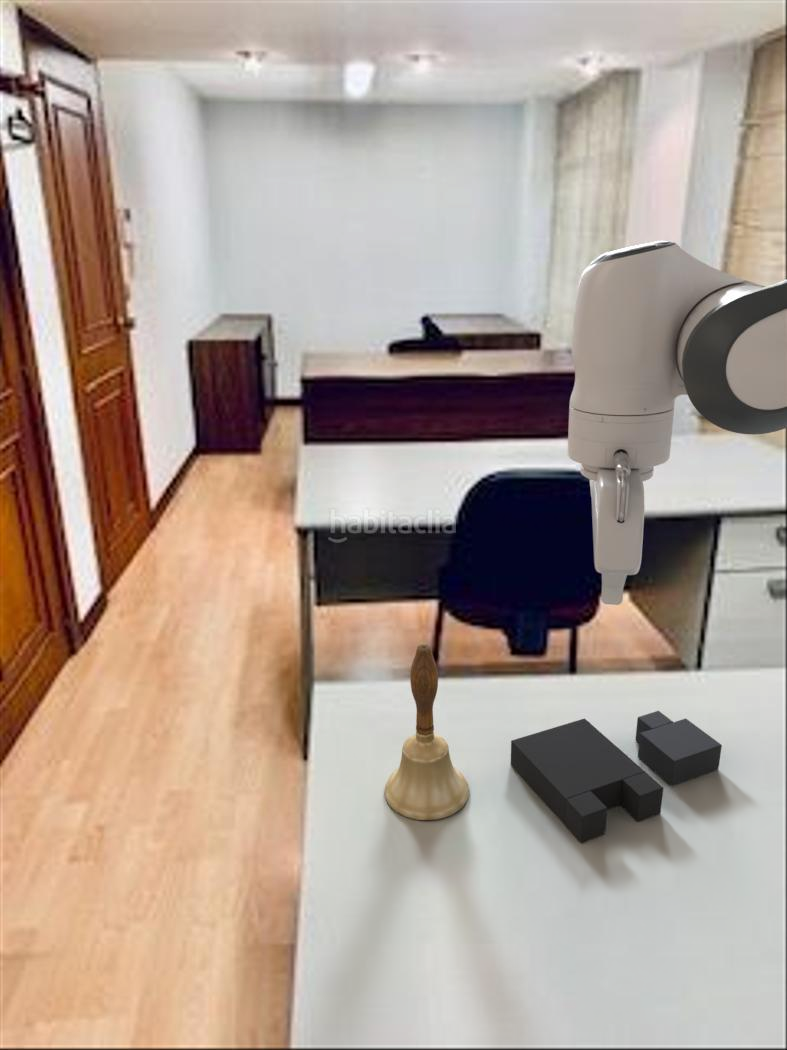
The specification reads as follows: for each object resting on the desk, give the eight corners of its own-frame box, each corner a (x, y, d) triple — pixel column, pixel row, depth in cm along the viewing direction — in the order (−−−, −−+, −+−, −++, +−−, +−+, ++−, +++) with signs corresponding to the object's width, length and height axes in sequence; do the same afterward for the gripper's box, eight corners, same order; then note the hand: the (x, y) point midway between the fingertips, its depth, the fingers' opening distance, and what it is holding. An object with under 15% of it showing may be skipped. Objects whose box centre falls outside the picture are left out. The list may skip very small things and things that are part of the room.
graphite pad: (667, 730, 83) (670, 706, 82) (718, 769, 76) (722, 744, 75) (622, 744, 81) (625, 720, 80) (671, 786, 74) (674, 761, 73)
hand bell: (370, 780, 76) (363, 640, 71) (441, 754, 80) (440, 619, 74) (409, 833, 69) (405, 682, 64) (485, 802, 73) (487, 657, 67)
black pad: (582, 741, 81) (584, 718, 80) (660, 813, 71) (663, 787, 70) (510, 764, 78) (510, 740, 77) (580, 843, 68) (582, 816, 67)
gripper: (668, 471, 57) (653, 634, 62) (646, 413, 76) (636, 541, 81) (582, 469, 59) (574, 628, 64) (582, 412, 77) (575, 539, 82)
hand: (609, 579), depth 72 cm, fingers open, 8 cm apart
